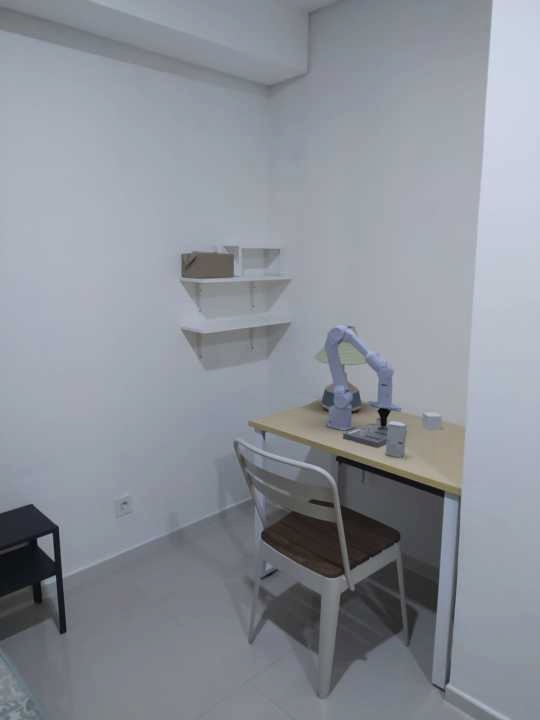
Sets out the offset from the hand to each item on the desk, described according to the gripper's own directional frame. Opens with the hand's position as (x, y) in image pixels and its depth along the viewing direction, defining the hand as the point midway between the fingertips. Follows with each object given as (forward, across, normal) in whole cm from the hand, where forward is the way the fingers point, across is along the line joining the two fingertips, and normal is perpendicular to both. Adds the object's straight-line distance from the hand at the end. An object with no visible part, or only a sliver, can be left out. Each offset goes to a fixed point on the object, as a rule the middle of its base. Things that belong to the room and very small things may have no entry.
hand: (383, 425), depth 230 cm
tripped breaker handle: (+1, -2, 0) cm, 2 cm away
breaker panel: (+3, 0, -7) cm, 8 cm away
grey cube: (+3, +10, +22) cm, 25 cm away
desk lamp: (+3, -34, +18) cm, 39 cm away
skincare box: (+3, +18, -20) cm, 27 cm away
